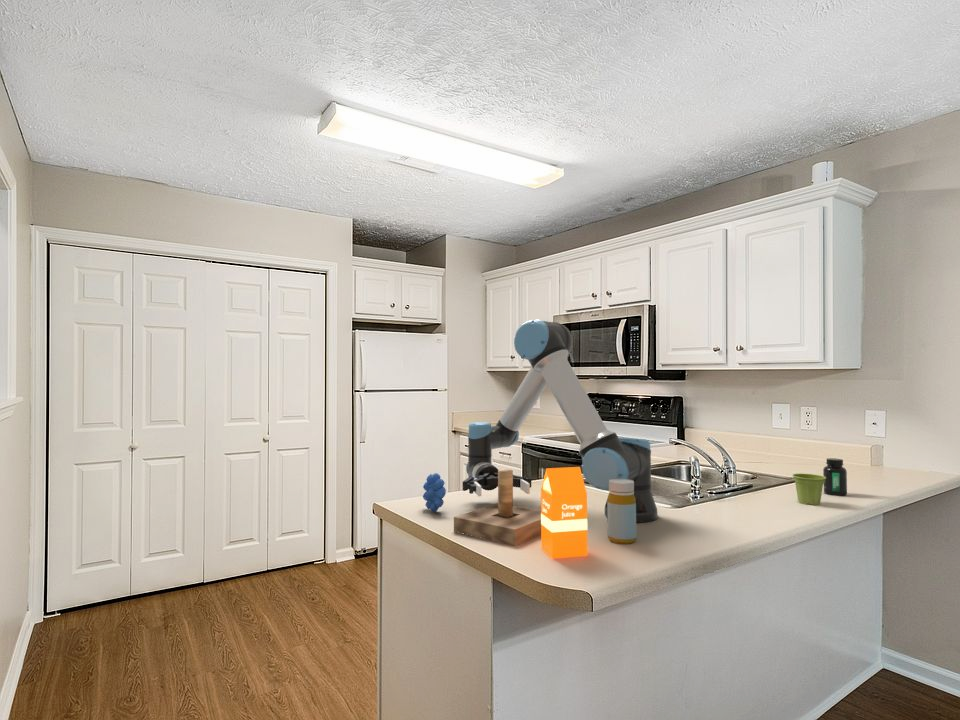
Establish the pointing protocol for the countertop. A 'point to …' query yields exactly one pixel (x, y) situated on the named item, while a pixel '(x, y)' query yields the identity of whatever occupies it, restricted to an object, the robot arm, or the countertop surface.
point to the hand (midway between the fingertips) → (504, 490)
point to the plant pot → (809, 488)
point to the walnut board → (500, 524)
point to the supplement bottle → (835, 478)
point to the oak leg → (505, 493)
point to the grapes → (434, 492)
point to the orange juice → (564, 513)
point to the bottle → (621, 511)
